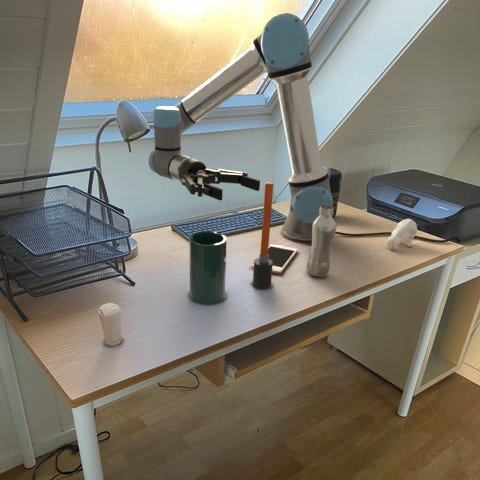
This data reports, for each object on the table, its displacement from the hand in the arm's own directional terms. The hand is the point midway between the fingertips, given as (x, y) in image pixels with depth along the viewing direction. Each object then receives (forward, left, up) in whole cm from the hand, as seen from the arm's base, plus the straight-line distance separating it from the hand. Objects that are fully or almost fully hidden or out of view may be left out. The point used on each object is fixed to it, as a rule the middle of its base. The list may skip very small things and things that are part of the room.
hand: (240, 190), depth 124 cm
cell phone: (-14, -5, -24) cm, 28 cm away
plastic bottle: (-22, +7, -24) cm, 33 cm away
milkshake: (+38, +26, -24) cm, 52 cm away
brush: (-4, +9, -24) cm, 26 cm away
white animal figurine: (-58, -5, -24) cm, 63 cm away
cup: (+12, +11, -24) cm, 29 cm away
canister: (-47, -37, -24) cm, 65 cm away
